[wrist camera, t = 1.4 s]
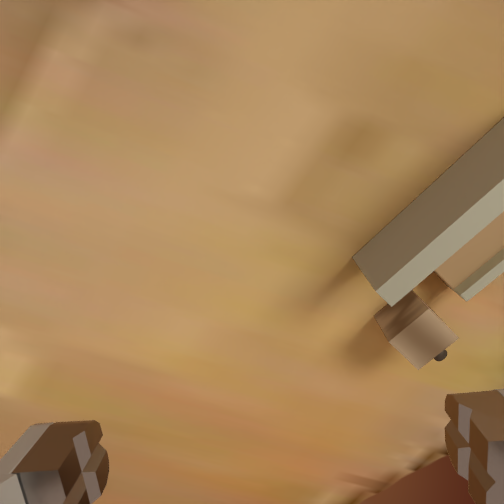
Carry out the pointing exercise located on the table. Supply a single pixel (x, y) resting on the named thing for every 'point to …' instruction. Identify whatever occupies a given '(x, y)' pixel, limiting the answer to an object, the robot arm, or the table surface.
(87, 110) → the table surface
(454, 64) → the table surface
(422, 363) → the cabinet block
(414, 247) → the grey boxy piece
